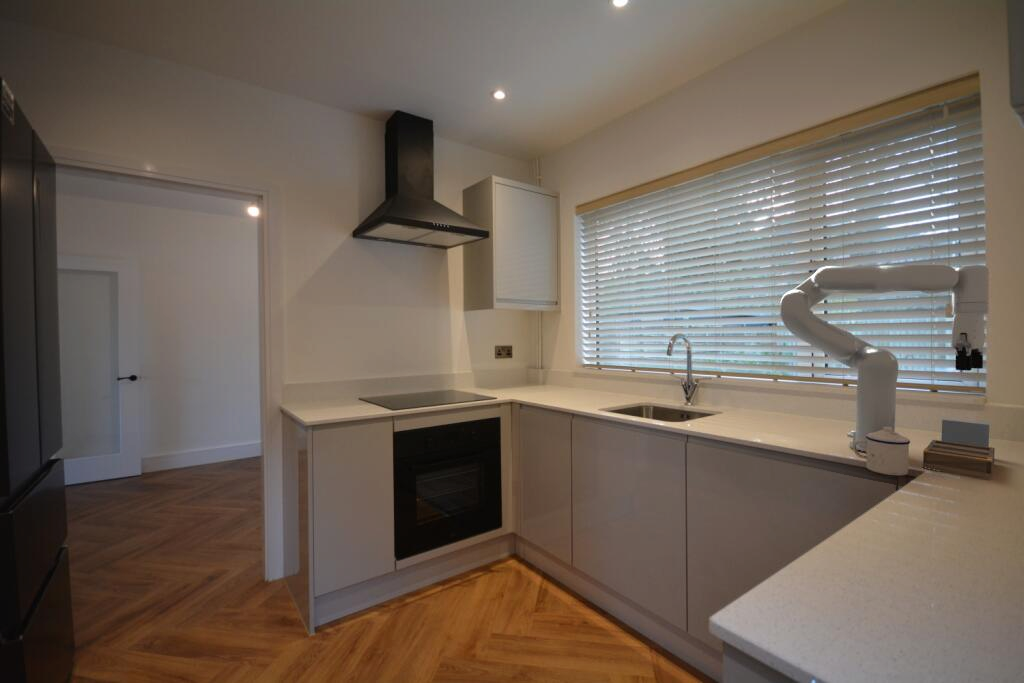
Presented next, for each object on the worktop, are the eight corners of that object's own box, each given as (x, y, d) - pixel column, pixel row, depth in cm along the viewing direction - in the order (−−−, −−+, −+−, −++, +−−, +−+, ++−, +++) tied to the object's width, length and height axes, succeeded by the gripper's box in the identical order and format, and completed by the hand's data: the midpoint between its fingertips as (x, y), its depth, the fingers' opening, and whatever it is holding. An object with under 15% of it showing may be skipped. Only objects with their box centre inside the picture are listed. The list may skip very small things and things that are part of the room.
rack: (990, 479, 116) (991, 460, 116) (923, 468, 125) (923, 450, 125) (994, 463, 130) (994, 446, 129) (932, 454, 139) (932, 438, 139)
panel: (987, 459, 134) (989, 424, 134) (941, 452, 142) (942, 419, 142) (988, 457, 136) (989, 423, 136) (942, 450, 143) (943, 418, 143)
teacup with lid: (910, 470, 123) (911, 427, 123) (907, 478, 117) (909, 432, 117) (855, 461, 132) (856, 420, 131) (849, 468, 125) (850, 425, 125)
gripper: (962, 310, 140) (962, 366, 141) (941, 309, 131) (941, 370, 131) (997, 309, 134) (997, 368, 134) (977, 308, 125) (977, 372, 125)
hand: (969, 369), depth 133 cm, fingers open, 9 cm apart
